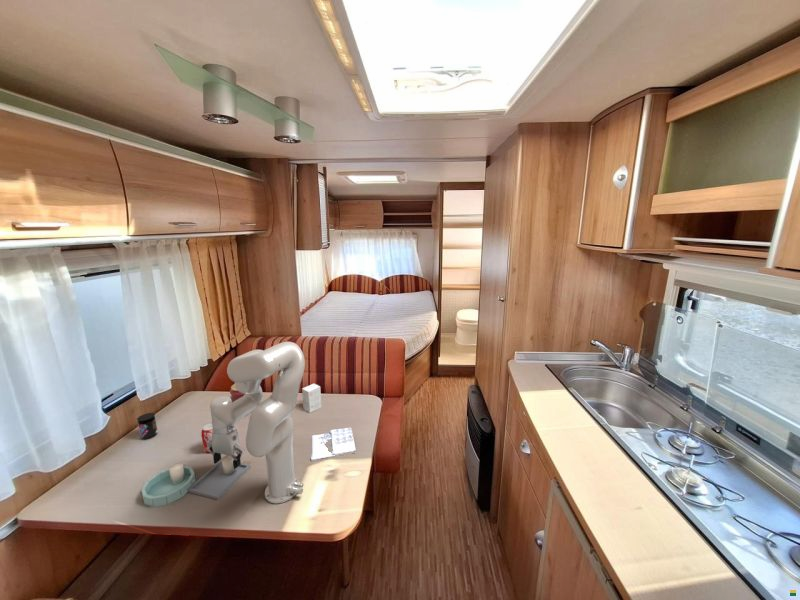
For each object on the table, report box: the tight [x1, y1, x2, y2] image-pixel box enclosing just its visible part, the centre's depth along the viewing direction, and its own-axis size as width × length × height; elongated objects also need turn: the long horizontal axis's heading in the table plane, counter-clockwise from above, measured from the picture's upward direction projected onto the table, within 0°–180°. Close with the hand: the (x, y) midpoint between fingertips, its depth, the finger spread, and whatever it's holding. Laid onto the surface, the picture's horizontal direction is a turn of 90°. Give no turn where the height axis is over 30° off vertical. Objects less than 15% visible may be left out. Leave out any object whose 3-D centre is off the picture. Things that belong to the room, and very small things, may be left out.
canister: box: [229, 383, 245, 403], centre depth 175 cm, size 13×13×18 cm
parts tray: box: [187, 459, 251, 501], centre depth 125 cm, size 14×17×2 cm
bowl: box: [141, 465, 197, 508], centre depth 120 cm, size 16×16×4 cm
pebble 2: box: [221, 455, 235, 475], centre depth 129 cm, size 4×4×6 cm
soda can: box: [200, 422, 213, 454], centre depth 142 cm, size 7×7×12 cm
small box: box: [301, 383, 322, 414], centre depth 176 cm, size 8×6×13 cm
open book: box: [310, 427, 357, 462], centre depth 147 cm, size 19×20×2 cm
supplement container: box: [136, 412, 159, 441], centre depth 151 cm, size 7×7×10 cm
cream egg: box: [169, 462, 185, 485], centre depth 123 cm, size 4×4×6 cm
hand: (227, 463), depth 129 cm, fingers open, 9 cm apart
